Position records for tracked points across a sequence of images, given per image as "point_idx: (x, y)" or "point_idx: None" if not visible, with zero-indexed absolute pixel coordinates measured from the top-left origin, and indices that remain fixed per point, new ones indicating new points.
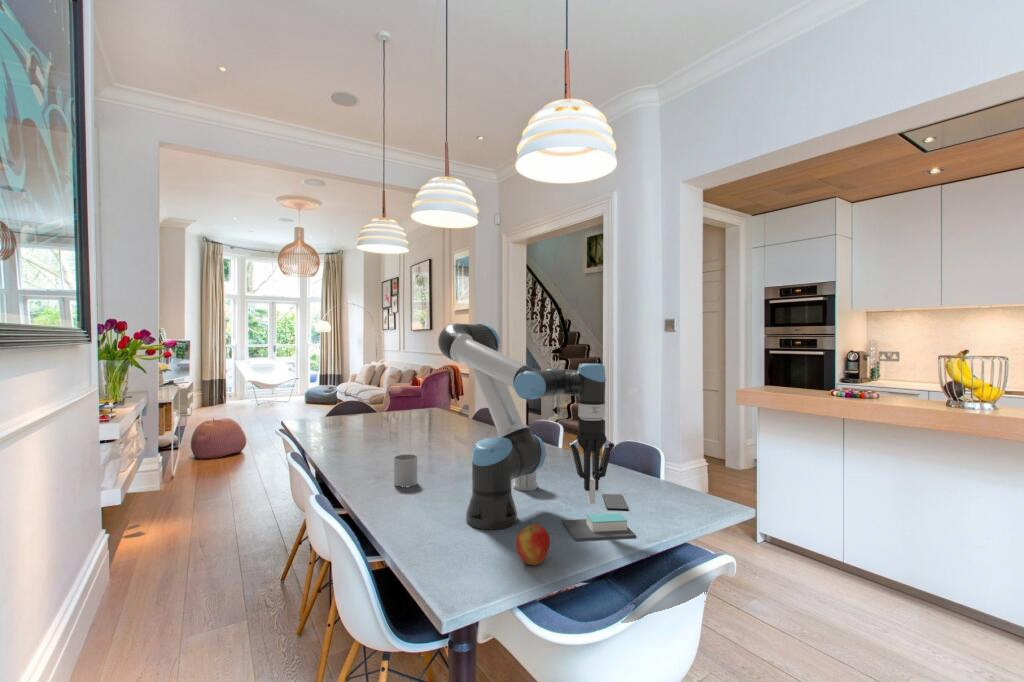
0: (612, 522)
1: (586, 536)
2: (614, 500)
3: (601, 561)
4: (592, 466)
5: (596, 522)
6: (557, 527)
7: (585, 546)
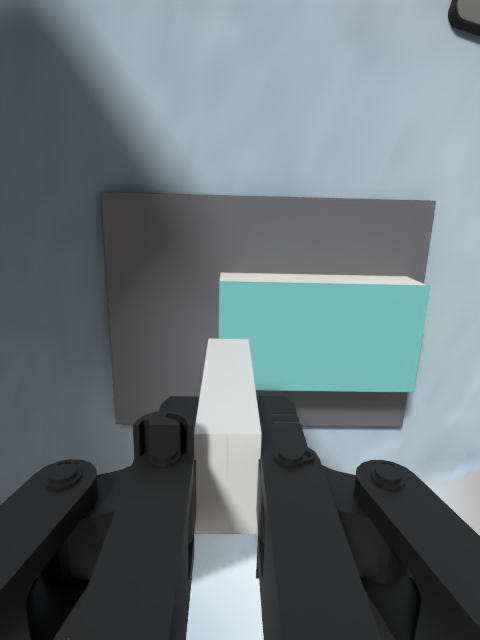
0: (328, 387)
1: None
2: None
3: None
4: (273, 567)
5: None
6: (62, 259)
7: None
